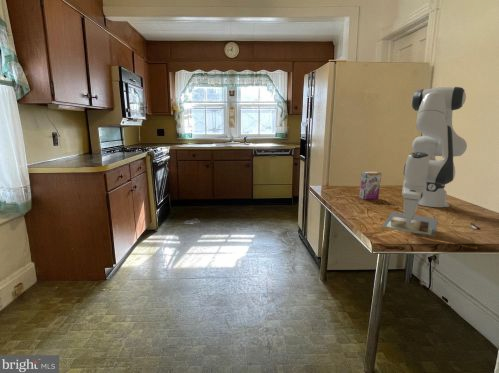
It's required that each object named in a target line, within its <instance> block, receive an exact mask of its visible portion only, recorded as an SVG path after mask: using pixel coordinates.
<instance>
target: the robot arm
mask: <svg viewBox="0 0 499 373" xmlns="http://www.w3.org/2000/svg"><path fill="white" fill-rule="evenodd" d="M466 99H467V94H466V91H465V89H464V88H463V87H460V86H454V87H453V86H451V87H450V86H445V87H443V86H442V87H432V88H427V89H424V88H423V89H422V88H421V89H418V90H416V91H415V92H414V93H413V95H412V97H411V107H412V110H414V111H416V112H417V116H416V122H415V126H416V128H417V130H418V131H419V132H420V133H421V134H422V135H421V136H417V137H415V138H414V139H413V140H412V144H411V149H412V151H413V152H411V153H409V154H408V156H407V159H406V163H404V167H403V168H404V169H403V176H404V180H403V183H402V189H401V190H402V191H401V195H402V198H403V214H404V216H405V217H406V225H408V226H410V225H411V221H412V220H413V218H414V216H416V212H417V210H418V207H419V205H420V206H424V207H431V208H449V207H450V204H449V203H448V202H447V193H448V192H447V191H446V189H445V187H446V185H447V184H449V183H452V182H453V181H454V179H455V176H456V167H455V163H454V157H461V156H462V155H464V153H465V152H466V151H467V147H468V145H467V141H466V140H465V139H464V138H463V137H461V136H460V135H459V134H457V133H456V131H455V130H454V128H453V127H454V126H453V111H457V110H459V109H461V108H462V107H463V105H464V104H465V102H466ZM436 157H442V158H441V159H439V160H437V159H436Z"/></svg>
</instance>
